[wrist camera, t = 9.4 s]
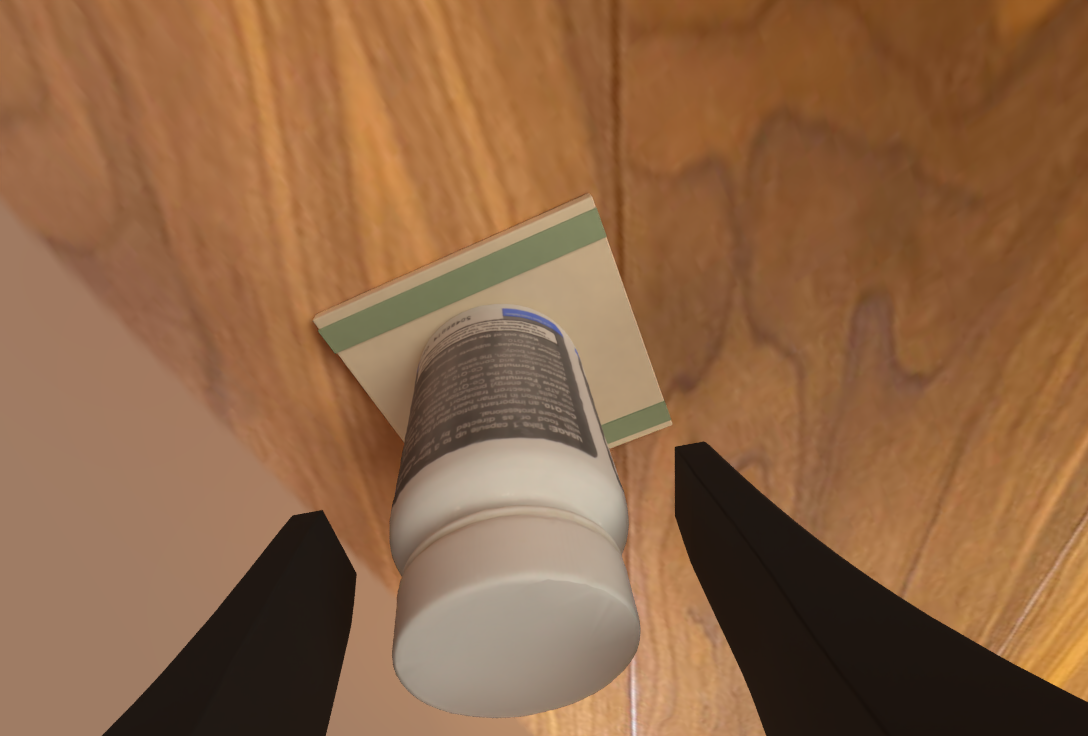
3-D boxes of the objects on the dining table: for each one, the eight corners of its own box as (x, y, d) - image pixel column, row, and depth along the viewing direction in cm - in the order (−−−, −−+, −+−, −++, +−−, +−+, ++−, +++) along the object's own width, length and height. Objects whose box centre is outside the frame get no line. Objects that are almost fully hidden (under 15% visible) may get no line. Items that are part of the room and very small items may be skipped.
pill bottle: (383, 372, 15) (295, 671, 8) (505, 264, 14) (531, 508, 6) (497, 460, 17) (509, 757, 10) (612, 375, 16) (719, 647, 9)
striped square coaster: (453, 499, 18) (453, 510, 18) (315, 313, 14) (310, 321, 14) (669, 418, 17) (673, 426, 17) (589, 192, 13) (592, 196, 13)
